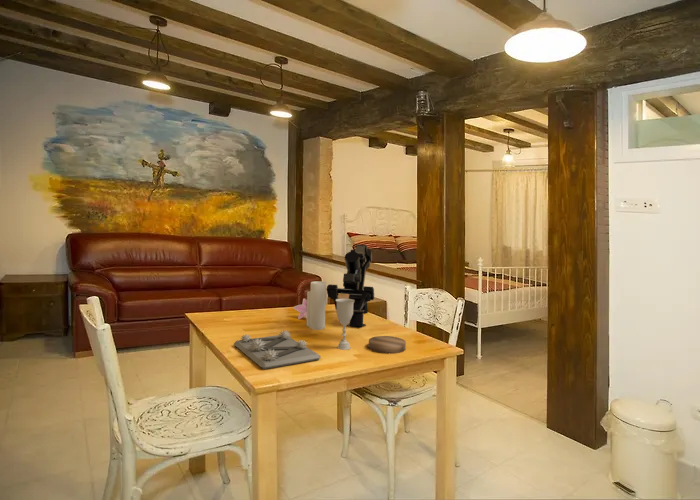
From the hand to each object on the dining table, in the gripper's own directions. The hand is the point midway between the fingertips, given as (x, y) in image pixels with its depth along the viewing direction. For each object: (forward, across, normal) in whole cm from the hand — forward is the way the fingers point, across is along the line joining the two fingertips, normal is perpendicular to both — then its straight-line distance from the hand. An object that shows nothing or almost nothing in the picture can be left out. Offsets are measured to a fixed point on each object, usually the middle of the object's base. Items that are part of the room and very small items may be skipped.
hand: (347, 309), depth 171 cm
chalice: (+14, 0, +5) cm, 15 cm away
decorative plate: (+23, -23, -3) cm, 32 cm away
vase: (-5, -18, +24) cm, 30 cm away
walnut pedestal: (+11, +16, +8) cm, 21 cm away
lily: (-14, -25, +33) cm, 44 cm away
